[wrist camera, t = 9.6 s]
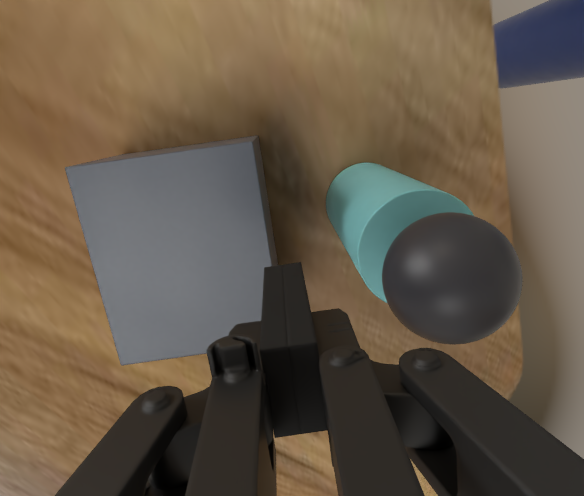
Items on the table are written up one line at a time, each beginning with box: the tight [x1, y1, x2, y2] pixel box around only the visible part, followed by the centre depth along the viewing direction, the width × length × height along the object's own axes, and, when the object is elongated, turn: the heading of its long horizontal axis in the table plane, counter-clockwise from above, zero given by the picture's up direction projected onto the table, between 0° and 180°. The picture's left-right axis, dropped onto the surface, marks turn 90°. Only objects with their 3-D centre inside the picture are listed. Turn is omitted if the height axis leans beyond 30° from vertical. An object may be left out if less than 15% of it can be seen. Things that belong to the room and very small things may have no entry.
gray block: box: [65, 135, 278, 365], centre depth 29 cm, size 10×12×9 cm
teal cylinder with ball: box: [326, 163, 522, 344], centre depth 24 cm, size 12×6×19 cm, turn 96°
